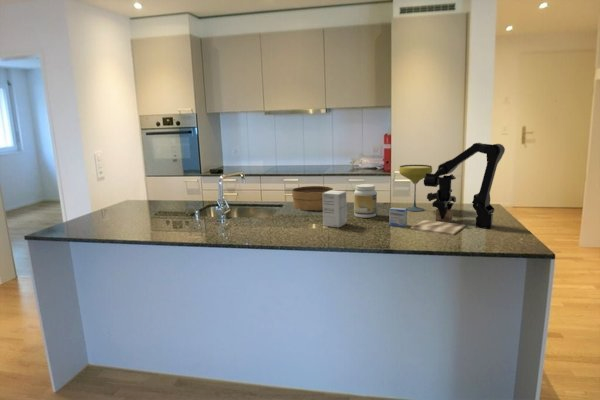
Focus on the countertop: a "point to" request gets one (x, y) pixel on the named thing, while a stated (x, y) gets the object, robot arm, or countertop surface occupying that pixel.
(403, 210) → the medicine box
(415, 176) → the cocktail glass
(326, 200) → the supplement box
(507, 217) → the countertop surface
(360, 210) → the supplement tub
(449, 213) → the block
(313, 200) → the steamer basket
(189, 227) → the countertop surface
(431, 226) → the birch board
